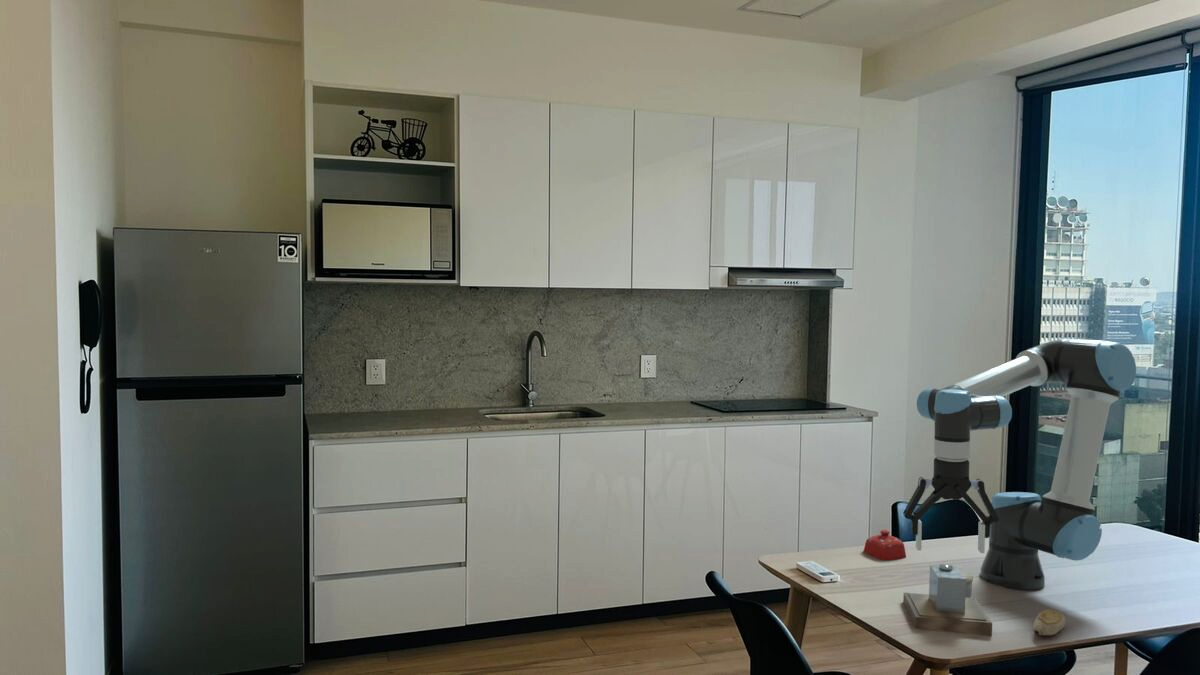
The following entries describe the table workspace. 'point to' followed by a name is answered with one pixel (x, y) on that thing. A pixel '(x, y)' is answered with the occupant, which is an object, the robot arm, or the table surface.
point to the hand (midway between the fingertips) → (949, 550)
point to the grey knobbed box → (947, 589)
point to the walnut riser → (947, 616)
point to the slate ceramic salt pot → (968, 584)
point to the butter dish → (885, 547)
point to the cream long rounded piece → (1048, 622)
